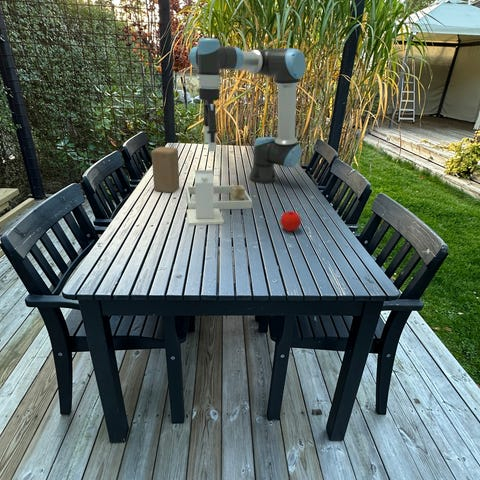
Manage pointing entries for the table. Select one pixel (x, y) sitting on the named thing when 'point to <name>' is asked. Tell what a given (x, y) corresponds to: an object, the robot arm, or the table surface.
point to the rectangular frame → (221, 204)
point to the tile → (204, 221)
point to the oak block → (237, 193)
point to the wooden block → (165, 169)
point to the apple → (290, 221)
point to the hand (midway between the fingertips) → (210, 146)
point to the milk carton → (204, 193)
